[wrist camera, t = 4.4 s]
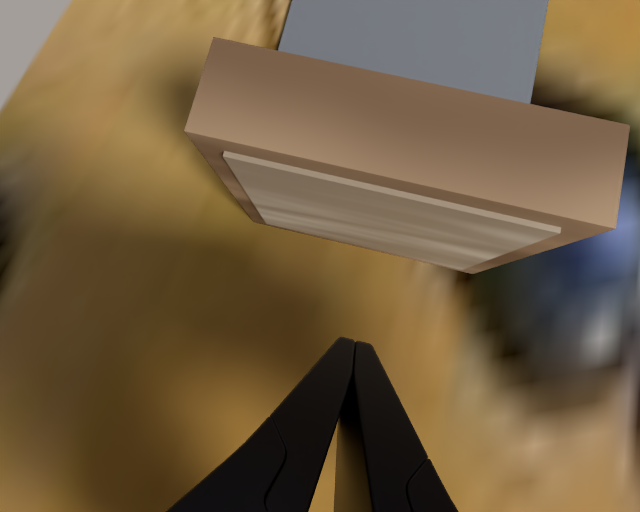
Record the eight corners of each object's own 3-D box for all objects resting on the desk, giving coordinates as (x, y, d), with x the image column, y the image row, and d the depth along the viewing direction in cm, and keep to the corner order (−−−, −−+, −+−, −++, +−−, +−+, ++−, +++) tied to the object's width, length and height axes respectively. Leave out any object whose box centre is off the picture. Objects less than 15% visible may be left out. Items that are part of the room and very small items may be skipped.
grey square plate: (507, 214, 18) (510, 212, 18) (249, 155, 19) (248, 152, 18) (552, -34, 20) (555, -40, 20) (316, -80, 21) (316, -86, 20)
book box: (471, 277, 18) (614, 235, 9) (252, 225, 18) (181, 136, 9) (482, 220, 18) (629, 125, 9) (267, 171, 19) (213, 37, 10)
